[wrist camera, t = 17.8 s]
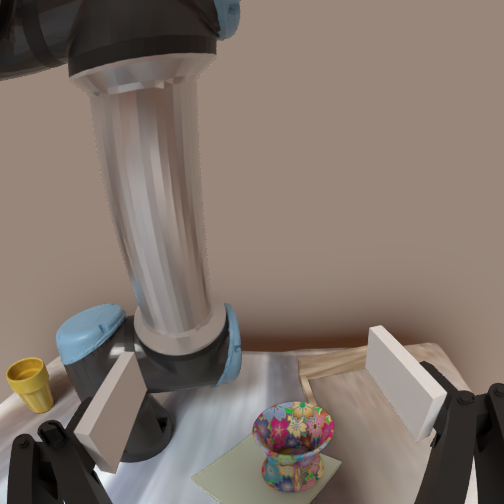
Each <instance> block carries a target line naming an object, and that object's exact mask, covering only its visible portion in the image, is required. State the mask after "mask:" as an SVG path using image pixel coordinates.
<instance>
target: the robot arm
mask: <svg viewBox="0 0 504 504" xmlns="http://www.w3.org/2000/svg"><path fill="white" fill-rule="evenodd" d="M240 1H241V0H0V81H2V80H8V79H13V78H18V77H22V76H26V75H30V74H35V73H38V72H42V71H45V70H48V69H51V68H54V67H58V66H61V65H63V64H66V63H68V69H69V81H70V83H72V84H73V85H75V86H76V87H78V88H80V89H81V90H83V91H84V92H86V93H87V95H88V96H89V98H90V103H91V112H92V121H93V128H94V135H95V142H96V148H97V154H98V159H99V165H100V170H101V175H102V180H103V184H104V189H105V194H106V198H107V202H108V207H109V210H110V215H111V219H112V223H113V226H114V230H115V234H116V237H117V241H118V244H119V248H120V251H121V254H122V257H123V261H124V264H125V267H126V270H127V273H128V276H129V279H130V282H131V285H132V288H133V291H134V294H135V297H136V299H137V302H138V305H139V306H138V307H137V310H136V312H135V315H134V316H126V312H125V310H124V309H123V308H122V306H120V305H118V304H115V305H114V304H104V305H99V306H95V307H93V308H90V309H87V310H84V311H82V312H80V313H78V314H76V315H75V316H73V317H71V318H70V319H68V320H67V321H66V322H65V323H64V324H62V326H61V327H60V328H59V330H58V331H57V334H56V344H57V347H58V351H59V354H60V357H61V362H62V363H63V364H64V367H65V369H66V371H67V373H68V376H69V378H70V380H71V382H72V384H73V386H74V388H75V390H76V392H77V394H78V396H79V398H80V400H81V402H82V403H81V404H80V406H79V407H78V410H77V411H76V412H75V414H74V415H73V417H72V419H71V420H70V422H69V424H68V425H67V427H66V429H64V428H63V426H62V425H61V423H60V422H58V421H56V420H49V421H46V422H44V423H42V424H41V425H40V426H39V428H38V435H39V436H40V438H41V439H42V441H43V442H35V440H34V439H33V437H32V436H31V435H29V434H21V435H19V436H17V437H16V438H15V439H14V441H13V444H12V450H11V458H10V466H9V476H8V490H7V504H64V502H65V504H113V503H112V502H111V500H110V498H109V496H108V495H107V493H106V491H105V489H104V487H103V485H102V484H101V482H100V480H99V478H98V476H97V474H96V472H95V471H94V470H93V469H94V467H95V464H96V465H97V466H98V467H99V469H100V470H101V471H104V472H109V473H114V474H116V471H117V468H118V465H119V462H128V463H129V462H139V461H143V460H146V459H149V458H151V457H153V456H155V455H157V454H158V453H159V452H161V451H162V450H163V449H164V448H165V447H166V445H167V444H168V443H169V441H170V439H171V436H172V424H171V421H170V418H169V416H168V414H167V412H166V410H165V409H164V408H163V407H162V406H161V405H160V403H159V402H158V401H157V400H156V399H155V398H154V397H153V396H152V395H151V393H160V392H170V391H179V390H187V389H194V388H201V387H208V386H209V387H216V386H218V385H220V384H224V383H228V382H231V381H233V380H235V379H236V378H237V376H238V375H239V372H240V369H241V361H242V352H241V348H240V345H241V337H240V330H239V325H238V321H237V317H236V314H235V311H234V309H233V308H232V306H231V305H230V304H228V303H223V302H222V300H221V298H220V297H219V296H218V295H217V294H216V293H215V292H214V291H213V290H211V287H210V278H209V269H208V260H207V248H206V237H205V228H204V227H205V226H204V215H203V201H202V187H201V171H200V154H199V134H198V108H197V79H198V78H199V76H200V74H201V73H202V72H203V71H204V70H205V69H206V68H207V67H208V66H209V65H210V64H211V63H212V62H214V60H216V41H217V40H221V41H222V40H224V39H228V38H230V37H232V36H233V35H234V34H235V32H236V30H237V28H238V24H239V20H240V5H239V2H240ZM365 367H366V369H367V370H368V372H369V373H370V375H371V376H372V378H373V379H374V380H375V382H376V383H377V385H378V386H379V388H380V389H381V391H382V392H383V394H384V395H385V396H386V398H387V399H388V401H389V402H390V404H391V405H392V407H393V408H394V410H395V411H396V413H397V414H398V416H399V417H400V419H401V420H402V422H403V423H404V425H405V426H406V428H407V429H408V431H409V432H410V434H411V435H412V437H413V438H414V440H415V441H418V440H421V439H423V438H425V437H427V436H429V435H430V433H431V431H432V428H434V429H435V430H436V432H437V433H436V435H435V437H434V439H433V441H432V443H431V445H430V447H432V450H431V453H430V457H429V461H428V464H427V468H426V471H425V474H424V477H423V480H422V483H421V486H420V489H419V492H418V495H417V497H416V500H415V503H414V504H464V503H465V499H466V495H467V490H468V486H469V480H470V475H471V469H472V462H473V455H474V460H475V469H476V478H477V491H478V504H504V384H502V383H495V384H492V385H491V386H490V388H489V390H488V393H486V394H482V395H476V396H475V395H474V394H473V393H471V392H470V391H466V390H462V391H458V390H457V389H456V388H455V387H454V386H453V385H452V384H451V383H450V382H449V381H448V380H447V379H446V378H445V377H444V376H443V375H442V374H441V373H440V372H438V370H437V369H436V368H435V367H434V366H433V365H432V364H430V363H428V362H425V361H423V362H420V363H418V362H417V361H416V360H415V359H414V358H413V357H412V355H411V354H410V353H409V352H408V351H407V350H406V349H405V348H404V347H403V346H402V345H401V344H399V342H398V341H397V340H396V339H395V338H394V337H392V335H391V334H390V333H389V332H388V331H387V330H385V329H384V328H383V327H382V326H376V327H371V328H370V329H369V339H368V348H367V356H366V364H365ZM432 445H433V446H432ZM63 499H64V500H63Z"/></svg>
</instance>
